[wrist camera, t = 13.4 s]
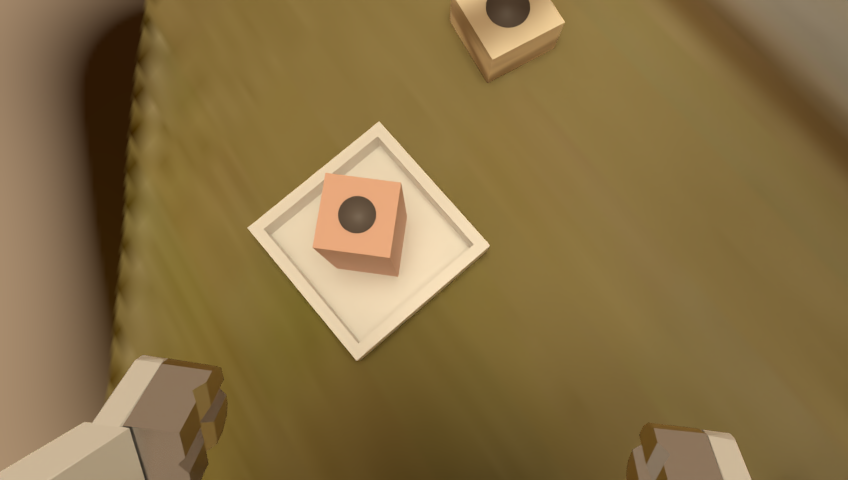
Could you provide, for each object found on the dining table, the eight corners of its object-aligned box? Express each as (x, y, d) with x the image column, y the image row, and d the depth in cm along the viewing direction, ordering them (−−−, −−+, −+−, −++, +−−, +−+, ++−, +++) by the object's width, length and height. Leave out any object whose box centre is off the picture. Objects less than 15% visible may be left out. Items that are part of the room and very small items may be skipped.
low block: (553, 49, 47) (565, 21, 43) (487, 84, 46) (492, 59, 42) (515, -11, 48) (522, -44, 44) (449, 22, 47) (451, -9, 43)
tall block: (398, 276, 43) (389, 257, 34) (336, 268, 43) (312, 247, 34) (407, 216, 44) (401, 182, 35) (346, 208, 44) (325, 172, 35)
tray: (486, 251, 44) (490, 245, 41) (361, 360, 43) (356, 360, 40) (382, 134, 46) (379, 121, 43) (258, 234, 44) (247, 227, 42)
